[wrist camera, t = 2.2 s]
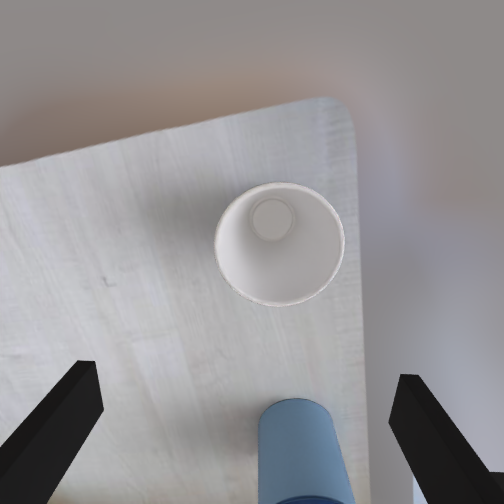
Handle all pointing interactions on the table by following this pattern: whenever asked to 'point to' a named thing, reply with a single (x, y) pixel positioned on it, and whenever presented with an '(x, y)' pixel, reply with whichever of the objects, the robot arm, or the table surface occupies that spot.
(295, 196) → the cup
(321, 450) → the blue lidded canister
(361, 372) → the table surface
